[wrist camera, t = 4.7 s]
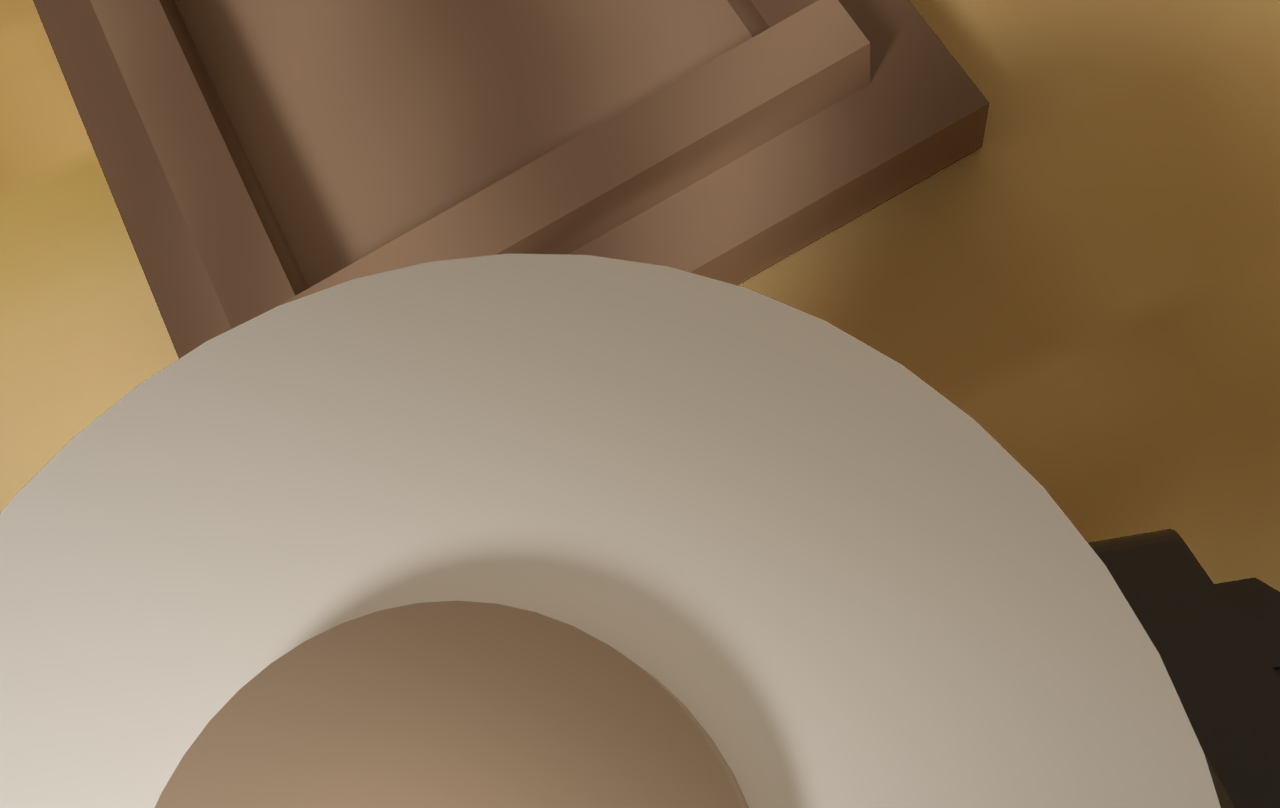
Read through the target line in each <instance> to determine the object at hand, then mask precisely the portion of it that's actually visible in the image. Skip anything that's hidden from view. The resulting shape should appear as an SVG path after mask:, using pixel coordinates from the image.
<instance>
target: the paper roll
mask: <svg viewBox="0 0 1280 808" xmlns="http://www.w3.org/2000/svg"><path fill="white" fill-rule="evenodd" d="M0 808H1221V807H1220V803H1219V800H1218V797H1217V794H1216V790H1215V787H1214V784H1213V781H1212V777H1211V774H1210V771H1209V768H1208V764H1207V761H1206V758H1205V755H1204V752H1203V750H1202V748H1201V746H1200V743H1199V741H1198V739H1197V737H1196V734H1195V732H1194V730H1193V728H1192V726H1191V723H1190V721H1189V719H1188V717H1187V714H1186V712H1185V710H1184V708H1183V705H1182V703H1181V701H1180V699H1179V697H1178V694H1177V692H1176V690H1175V688H1174V685H1173V683H1172V681H1171V679H1170V677H1169V674H1168V672H1167V670H1166V668H1165V665H1164V663H1163V661H1162V659H1161V657H1160V654H1159V653H1158V651H1157V649H1156V648H1155V646H1154V644H1153V643H1152V641H1151V640H1150V638H1149V636H1148V635H1147V633H1146V631H1145V630H1144V628H1143V626H1142V625H1141V623H1140V621H1139V620H1138V618H1137V617H1136V615H1135V613H1134V612H1133V610H1132V608H1131V607H1130V605H1129V603H1128V602H1127V600H1126V598H1125V597H1124V595H1123V593H1122V592H1121V590H1120V589H1119V587H1118V585H1117V584H1116V582H1115V580H1114V579H1113V577H1112V575H1111V574H1110V572H1109V570H1108V569H1107V567H1106V565H1105V564H1104V563H1103V562H1102V560H1101V559H1100V558H1099V557H1098V555H1097V554H1096V553H1095V552H1094V550H1093V549H1092V548H1091V547H1090V545H1089V544H1088V543H1087V541H1086V540H1085V539H1084V538H1083V536H1082V535H1081V534H1080V533H1079V531H1078V530H1077V529H1076V528H1075V526H1074V525H1073V524H1072V523H1071V521H1070V520H1069V519H1068V517H1067V516H1066V515H1065V514H1064V512H1063V511H1062V510H1061V509H1060V507H1059V506H1058V505H1057V504H1056V502H1055V501H1054V500H1053V499H1052V497H1051V496H1050V495H1049V494H1048V492H1047V491H1046V490H1045V488H1044V487H1043V486H1042V485H1041V484H1040V483H1039V482H1038V481H1037V480H1036V479H1035V478H1034V477H1033V476H1032V475H1031V474H1030V473H1029V472H1027V471H1026V470H1025V469H1024V468H1023V467H1022V466H1021V465H1020V464H1019V463H1018V462H1017V461H1016V460H1015V459H1014V458H1013V457H1012V456H1011V455H1010V454H1009V453H1008V452H1007V451H1006V450H1005V449H1004V448H1003V447H1002V446H1001V445H1000V444H999V443H998V442H997V441H996V440H995V439H994V438H993V437H992V436H991V435H990V434H989V433H988V432H987V431H986V430H985V429H984V428H983V427H982V426H981V425H980V424H979V423H977V422H976V421H975V420H974V419H973V418H972V417H970V416H969V415H968V414H966V413H965V412H964V411H962V410H961V409H960V408H958V407H957V406H956V405H954V404H953V403H952V402H950V401H949V400H948V399H947V398H945V397H944V396H943V395H941V394H940V393H939V392H937V391H936V390H935V389H933V388H932V387H931V386H929V385H928V384H927V383H925V382H924V381H923V380H921V379H920V378H919V377H918V376H916V375H915V374H914V373H912V372H911V371H910V370H908V369H907V368H906V367H904V366H903V365H902V364H900V363H898V362H896V361H895V360H893V359H891V358H889V357H888V356H886V355H884V354H882V353H881V352H879V351H877V350H875V349H874V348H872V347H870V346H869V345H867V344H865V343H863V342H862V341H860V340H858V339H856V338H855V337H853V336H851V335H849V334H848V333H846V332H844V331H842V330H841V329H839V328H837V327H835V326H834V325H832V324H830V323H829V322H827V321H825V320H822V319H820V318H818V317H815V316H813V315H810V314H808V313H806V312H803V311H801V310H798V309H796V308H794V307H791V306H789V305H786V304H784V303H782V302H779V301H777V300H774V299H772V298H770V297H767V296H765V295H762V294H760V293H758V292H755V291H753V290H750V289H748V288H745V287H741V286H737V285H734V284H730V283H726V282H723V281H719V280H716V279H712V278H708V277H705V276H701V275H697V274H694V273H690V272H686V271H683V270H679V269H676V268H672V267H668V266H662V265H655V264H648V263H641V262H634V261H627V260H620V259H613V258H606V257H599V256H592V255H565V254H499V255H489V256H480V257H470V258H461V259H451V260H442V261H432V262H426V263H422V264H418V265H413V266H409V267H405V268H400V269H396V270H392V271H387V272H383V273H378V274H374V275H370V276H365V277H361V278H357V279H352V280H350V281H347V282H344V283H341V284H338V285H336V286H333V287H330V288H327V289H324V290H322V291H319V292H316V293H313V294H310V295H308V296H305V297H302V298H299V299H296V300H294V301H291V302H288V303H285V304H282V305H280V306H277V307H275V308H273V309H271V310H269V311H267V312H265V313H263V314H261V315H259V316H257V317H255V318H253V319H251V320H249V321H247V322H245V323H243V324H241V325H239V326H237V327H235V328H233V329H231V330H229V331H227V332H224V333H222V334H220V335H218V336H216V337H214V338H212V339H210V340H208V341H206V342H205V343H203V344H202V345H200V346H199V347H197V348H195V349H194V350H192V351H191V352H189V353H188V354H186V355H184V356H183V357H181V358H180V359H178V360H177V361H175V362H174V363H172V364H170V365H169V366H167V367H166V368H164V369H163V370H161V371H159V372H158V373H156V374H155V375H153V376H152V377H150V378H149V379H147V380H145V381H144V382H142V383H141V384H139V385H138V386H137V387H135V388H134V389H133V390H132V391H130V392H129V393H128V394H127V395H125V396H124V397H123V398H122V399H120V400H119V401H118V402H117V403H115V404H114V405H113V406H112V407H110V408H109V409H108V410H107V411H106V412H104V413H103V414H102V415H101V416H99V417H98V418H97V419H96V420H94V421H93V422H92V423H91V424H89V425H88V426H87V427H86V428H84V429H83V430H82V431H81V432H79V433H78V434H77V435H76V436H75V437H74V438H72V439H71V440H70V441H69V442H68V443H67V444H66V445H65V446H64V447H63V448H62V449H61V450H60V451H59V452H58V453H57V454H56V455H55V456H54V457H53V458H52V459H51V460H50V461H49V462H48V463H47V464H46V465H45V466H44V467H43V468H42V469H41V470H40V471H39V472H38V473H37V474H36V475H35V476H34V477H33V478H32V479H31V480H30V481H29V482H28V483H27V484H26V485H25V486H24V487H23V488H22V489H21V490H20V491H19V492H18V493H17V494H16V495H15V497H14V498H13V499H12V500H11V501H10V503H9V504H8V505H7V506H6V508H5V509H4V510H3V511H2V513H1V514H0Z"/></svg>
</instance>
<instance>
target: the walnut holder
mask: <svg viewBox="0 0 1280 808" xmlns="http://www.w3.org/2000/svg"><path fill="white" fill-rule="evenodd" d="M33 1H34V4H35V6H36V9H37V11H38V14H39V16H40V19H41V21H42V23H43V26H44V28H45V31H46V33H47V36H48V38H49V41H50V43H51V46H52V48H53V50H54V53H55V55H56V58H57V60H58V63H59V65H60V68H61V70H62V73H63V75H64V77H65V80H66V82H67V85H68V87H69V90H70V92H71V95H72V97H73V100H74V102H75V104H76V107H77V109H78V112H79V114H80V117H81V119H82V122H83V124H84V127H85V129H86V131H87V134H88V136H89V139H90V141H91V144H92V146H93V149H94V151H95V154H96V156H97V158H98V161H99V163H100V166H101V168H102V171H103V173H104V176H105V178H106V181H107V183H108V185H109V188H110V190H111V193H112V195H113V198H114V200H115V203H116V205H117V208H118V210H119V212H120V215H121V217H122V220H123V222H124V225H125V227H126V230H127V232H128V235H129V237H130V239H131V242H132V244H133V247H134V249H135V252H136V254H137V257H138V259H139V262H140V264H141V266H142V269H143V271H144V274H145V276H146V279H147V281H148V284H149V286H150V289H151V291H152V293H153V296H154V298H155V301H156V303H157V306H158V308H159V311H160V313H161V316H162V318H163V320H164V323H165V325H166V328H167V330H168V333H169V335H170V338H171V340H172V343H173V345H174V347H175V350H176V352H177V355H178V357H179V359H180V358H181V357H183V356H184V355H186V354H188V353H189V352H191V351H192V350H194V349H195V348H197V347H199V346H200V345H202V344H203V343H205V342H206V341H208V340H210V339H212V338H214V337H216V336H218V335H220V334H222V333H224V332H227V331H229V330H231V329H233V328H235V327H237V326H239V325H241V324H243V323H245V322H247V321H249V320H251V319H253V318H255V317H257V316H259V315H261V314H263V313H265V312H267V311H269V310H271V309H273V308H275V307H277V306H280V305H282V304H285V303H288V302H291V301H294V300H296V299H299V298H302V297H305V296H308V295H310V294H313V293H316V292H319V291H322V290H324V289H327V288H330V287H333V286H336V285H338V284H341V283H344V282H347V281H350V280H352V279H357V278H361V277H365V276H370V275H374V274H378V273H383V272H387V271H392V270H396V269H400V268H405V267H409V266H413V265H418V264H422V263H426V262H432V261H442V260H451V259H461V258H470V257H480V256H489V255H499V254H565V255H592V256H599V257H606V258H613V259H620V260H627V261H634V262H641V263H648V264H655V265H662V266H668V267H672V268H676V269H679V270H683V271H686V272H690V273H694V274H697V275H701V276H705V277H708V278H712V279H716V280H719V281H723V282H726V283H730V284H734V285H738V284H740V283H742V282H744V281H745V280H747V279H749V278H751V277H753V276H754V275H756V274H758V273H760V272H761V271H763V270H765V269H767V268H768V267H770V266H772V265H774V264H776V263H777V262H779V261H781V260H783V259H784V258H786V257H788V256H790V255H791V254H793V253H795V252H797V251H798V250H800V249H802V248H804V247H806V246H807V245H809V244H811V243H813V242H814V241H816V240H818V239H820V238H821V237H823V236H825V235H827V234H829V233H830V232H832V231H834V230H836V229H837V228H839V227H841V226H843V225H844V224H846V223H848V222H850V221H852V220H853V219H855V218H857V217H859V216H860V215H862V214H864V213H866V212H867V211H869V210H871V209H873V208H874V207H876V206H878V205H880V204H882V203H883V202H885V201H887V200H889V199H890V198H892V197H894V196H896V195H897V194H899V193H901V192H903V191H905V190H906V189H908V188H910V187H912V186H913V185H915V184H917V183H919V182H920V181H922V180H924V179H926V178H928V177H929V176H931V175H933V174H935V173H936V172H938V171H940V170H942V169H943V168H945V167H947V166H949V165H950V164H952V163H954V162H956V161H958V160H959V159H961V158H963V157H965V156H966V155H968V154H970V153H972V152H973V151H975V150H977V149H979V148H981V147H982V143H983V137H984V131H985V125H986V119H987V113H988V107H989V102H988V101H987V100H986V98H985V97H984V96H983V95H982V93H981V92H980V91H979V89H978V88H977V87H976V86H975V84H974V83H973V82H972V80H971V79H970V78H969V77H968V75H967V74H966V73H965V71H964V70H963V69H962V68H961V66H960V65H959V64H958V63H957V61H956V60H955V59H954V57H953V56H952V55H951V54H950V52H949V51H948V50H947V48H946V47H945V46H944V45H943V43H942V42H941V41H940V39H939V38H938V37H937V36H936V34H935V33H934V32H933V31H932V29H931V28H930V27H929V25H928V24H927V23H926V22H925V20H924V19H923V18H922V16H921V15H920V14H919V13H918V11H917V10H916V9H915V7H914V6H913V5H912V4H911V2H910V1H909V0H33Z"/></svg>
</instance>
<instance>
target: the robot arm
mask: <svg viewBox="0 0 1280 808" xmlns="http://www.w3.org/2000/svg"><path fill="white" fill-rule="evenodd" d="M1088 544H1089V545H1090V547H1091V548H1092V549H1093V550H1094V552H1095V553H1096V554H1097V555H1098V557H1099V558H1100V559H1101V560H1102V562H1103V563H1104V564H1105V565H1106V567H1107V569H1108V570H1109V572H1110V574H1111V575H1112V577H1113V579H1114V580H1115V582H1116V584H1117V585H1118V587H1119V589H1120V590H1121V592H1122V593H1123V595H1124V597H1125V598H1126V600H1127V602H1128V603H1129V605H1130V607H1131V608H1132V610H1133V612H1134V613H1135V615H1136V617H1137V618H1138V620H1139V621H1140V623H1141V625H1142V626H1143V628H1144V630H1145V631H1146V633H1147V635H1148V636H1149V638H1150V640H1151V641H1152V643H1153V644H1154V646H1155V648H1156V649H1157V651H1158V653H1159V654H1160V657H1161V659H1162V661H1163V663H1164V665H1165V668H1166V670H1167V672H1168V674H1169V677H1170V679H1171V681H1172V683H1173V685H1174V688H1175V690H1176V692H1177V694H1178V697H1179V699H1180V701H1181V703H1182V705H1183V708H1184V710H1185V712H1186V714H1187V717H1188V719H1189V721H1190V723H1191V726H1192V728H1193V730H1194V732H1195V734H1196V737H1197V739H1198V741H1199V743H1200V746H1201V748H1202V750H1203V752H1204V755H1205V758H1206V761H1207V764H1208V768H1209V771H1210V774H1211V777H1212V781H1213V784H1214V787H1215V790H1216V794H1217V797H1218V800H1219V803H1220V807H1221V808H1280V592H1279V591H1277V590H1275V589H1273V588H1272V587H1270V586H1268V585H1267V584H1265V583H1263V582H1262V581H1260V580H1258V579H1257V578H1250V579H1243V580H1237V581H1231V582H1225V583H1219V584H1213V582H1212V581H1211V579H1210V578H1209V576H1208V575H1207V574H1206V572H1205V571H1204V569H1203V568H1202V566H1201V565H1200V564H1199V562H1198V561H1197V559H1196V558H1195V556H1194V555H1193V554H1192V552H1191V551H1190V549H1189V548H1188V546H1187V545H1186V544H1185V542H1184V541H1183V539H1182V538H1181V537H1180V535H1179V534H1178V533H1177V532H1176V531H1174V530H1172V529H1167V530H1162V531H1156V532H1150V533H1144V534H1138V535H1132V536H1126V537H1120V538H1114V539H1108V540H1102V541H1096V542H1090V543H1088Z"/></svg>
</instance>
